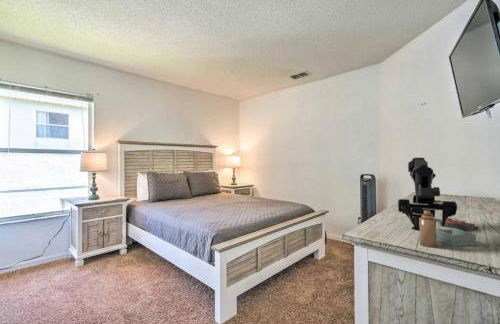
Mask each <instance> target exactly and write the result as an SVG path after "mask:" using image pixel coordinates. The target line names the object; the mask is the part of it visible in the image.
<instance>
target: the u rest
mask: <svg viewBox="0 0 500 324" xmlns="http://www.w3.org/2000/svg"><path fill="white" fill-rule="evenodd" d="M436 232H437V241H439V242H442V243H444V244H445V245H446V244H447V245H449V246H451V247H458V246H460V247H461V246H464V247H465V246H480V243H479V241H478V240H477V234H475V233H471V232H469V231H464V230H459V229H455V228H451V233H449V232H445V231H443V230H440V229H437V228H436Z"/></svg>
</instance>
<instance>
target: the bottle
mask: <svg viewBox="0 0 500 324" xmlns="http://www.w3.org/2000/svg"><path fill="white" fill-rule="evenodd" d="M434 218H435V217H434ZM434 218H433V216H432V215H431V211H428V210H424V215H422V217H420V218H419V230H418V231H419V245H420V246H422V247H425V248H437V247H438V240H437V232H436V229H437V221H436V219H437V218H435V219H434Z"/></svg>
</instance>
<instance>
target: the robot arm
mask: <svg viewBox="0 0 500 324" xmlns="http://www.w3.org/2000/svg"><path fill="white" fill-rule="evenodd" d="M425 159H426V158H425V157H413V158H412V160H410V161H408V163H407V168H408V169H407V170H408V173H409V175H410V177H411V180H413V184H414V192H415V194H414V195H413V198H412V202H410V199H407V198H406V199H405V198H399V199H398V200H397V207H398V212H399V213H402V214H403V215H404V214H405V216H406V217H407V218H408V219H409V221H410V223H411V225H413V226H411V229H413V230H417V231H420V230H419V218H420V217H422V215H424V210H428V211H431V215H432V216H433V218H436V211H441V220H442V226H441V227H442V228H445V227H444V225H445V222H446V220H447V218H448V217H450V218H452V216H456V215H457V210H458V205H457V202H456V201H452V200H451V201H450V200H443V201H442V204H436V198H435V197H440V196H441V190H440V187H439V186H438V187H437V186H436V187H435V186H433V187H432V184H433V180H434V179H435V178H436V177H437V176H436V174H435V172H434V170H433V169H432V167H430V166H429V163H428V161H426V160H425Z"/></svg>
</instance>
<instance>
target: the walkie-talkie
mask: <svg viewBox="0 0 500 324" xmlns="http://www.w3.org/2000/svg"><path fill="white" fill-rule="evenodd" d="M434 219H436V222H438V224H439V226H440V227H442V218H441V219H440V218H436V217H434ZM443 228H448V229H452V228H455V229H459V230H462V231H465V232H470V231H475V230H478V229H479V228H480V227H479V226H476V224H475V223H471V222H466V220H460V219H459V218H456V217H448V218H447V220H446V222H445V225H444V227H443Z"/></svg>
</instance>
